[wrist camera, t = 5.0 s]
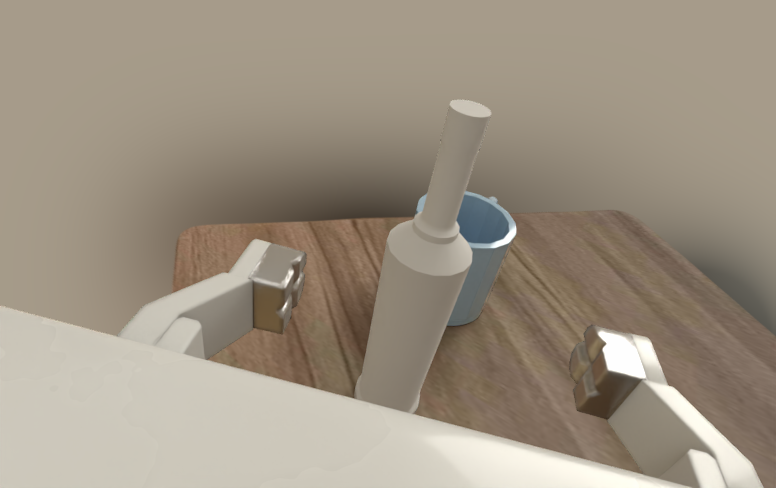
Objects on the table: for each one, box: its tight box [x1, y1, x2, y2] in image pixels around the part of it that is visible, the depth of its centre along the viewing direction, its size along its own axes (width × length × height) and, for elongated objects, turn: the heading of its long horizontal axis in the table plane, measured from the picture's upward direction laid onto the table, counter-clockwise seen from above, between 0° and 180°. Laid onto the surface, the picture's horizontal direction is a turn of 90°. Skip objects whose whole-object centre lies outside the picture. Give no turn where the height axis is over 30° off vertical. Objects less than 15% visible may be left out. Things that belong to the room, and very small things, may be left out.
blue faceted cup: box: [414, 191, 516, 326], centre depth 47 cm, size 13×9×10 cm
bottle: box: [354, 100, 491, 414], centre depth 29 cm, size 5×5×25 cm
